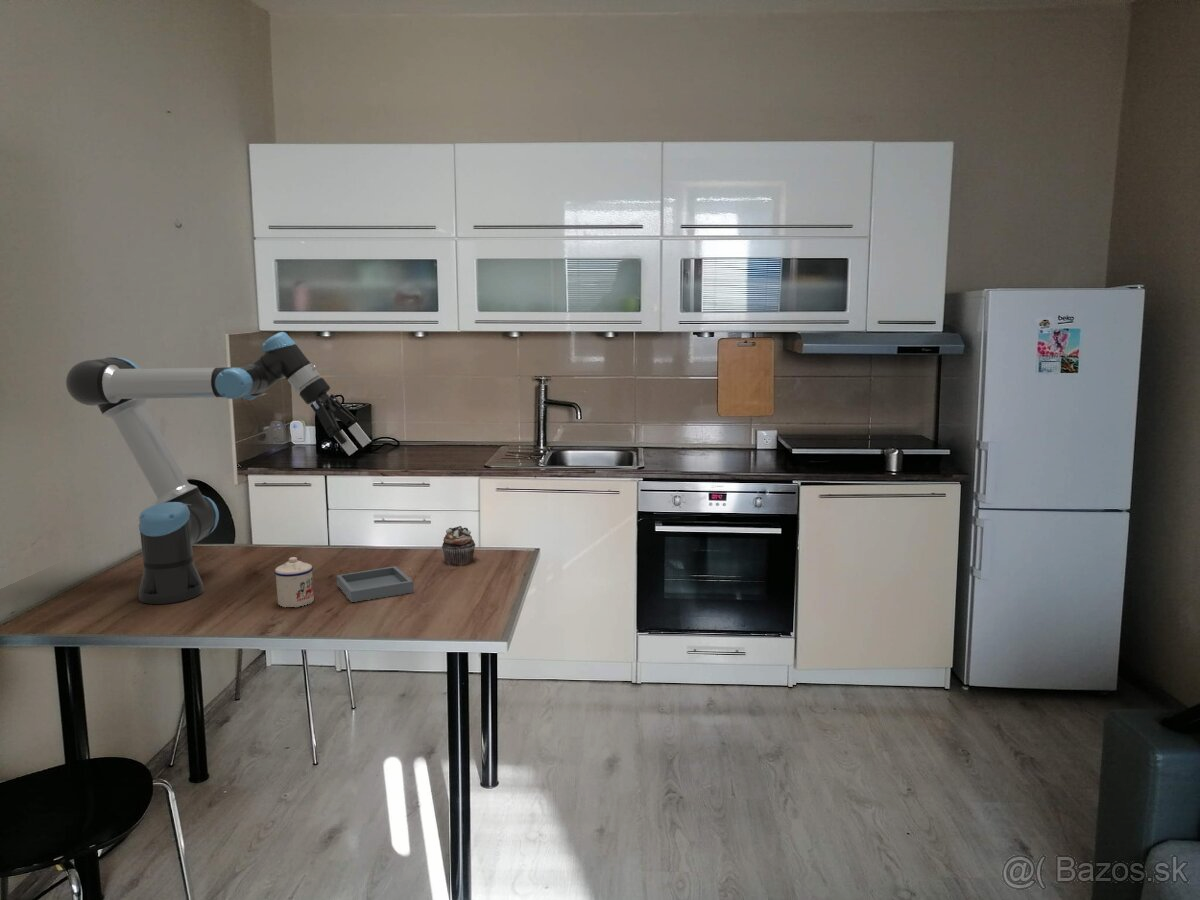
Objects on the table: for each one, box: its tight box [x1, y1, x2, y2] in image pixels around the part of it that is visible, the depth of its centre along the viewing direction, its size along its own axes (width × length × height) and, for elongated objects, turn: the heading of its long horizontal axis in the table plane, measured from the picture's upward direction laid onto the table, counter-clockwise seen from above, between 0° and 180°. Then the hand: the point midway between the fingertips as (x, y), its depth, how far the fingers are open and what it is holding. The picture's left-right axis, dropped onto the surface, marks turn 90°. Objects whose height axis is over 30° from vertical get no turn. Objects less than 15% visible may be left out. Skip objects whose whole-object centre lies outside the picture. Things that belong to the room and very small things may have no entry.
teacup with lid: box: [274, 556, 315, 608], centre depth 227 cm, size 12×9×12 cm
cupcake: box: [441, 525, 476, 566], centre depth 260 cm, size 10×10×10 cm
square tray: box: [336, 565, 415, 603], centre depth 236 cm, size 16×16×3 cm
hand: (360, 448), depth 241 cm, fingers open, 13 cm apart
